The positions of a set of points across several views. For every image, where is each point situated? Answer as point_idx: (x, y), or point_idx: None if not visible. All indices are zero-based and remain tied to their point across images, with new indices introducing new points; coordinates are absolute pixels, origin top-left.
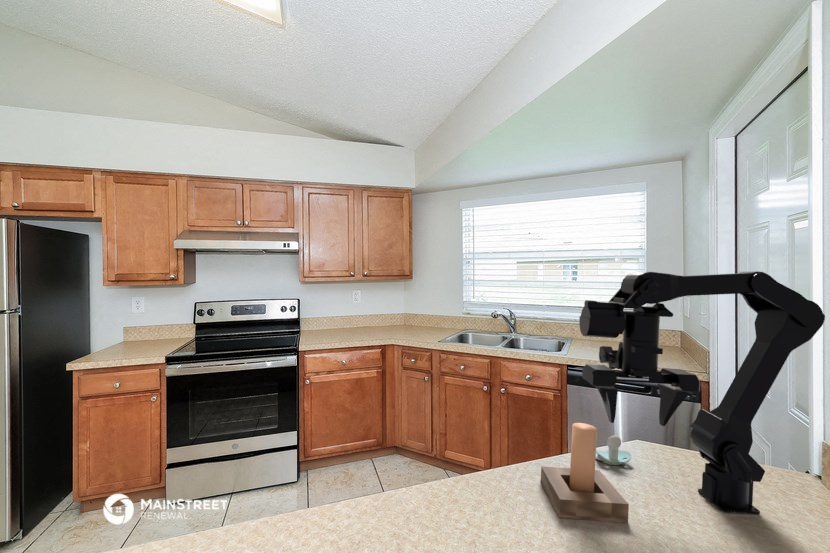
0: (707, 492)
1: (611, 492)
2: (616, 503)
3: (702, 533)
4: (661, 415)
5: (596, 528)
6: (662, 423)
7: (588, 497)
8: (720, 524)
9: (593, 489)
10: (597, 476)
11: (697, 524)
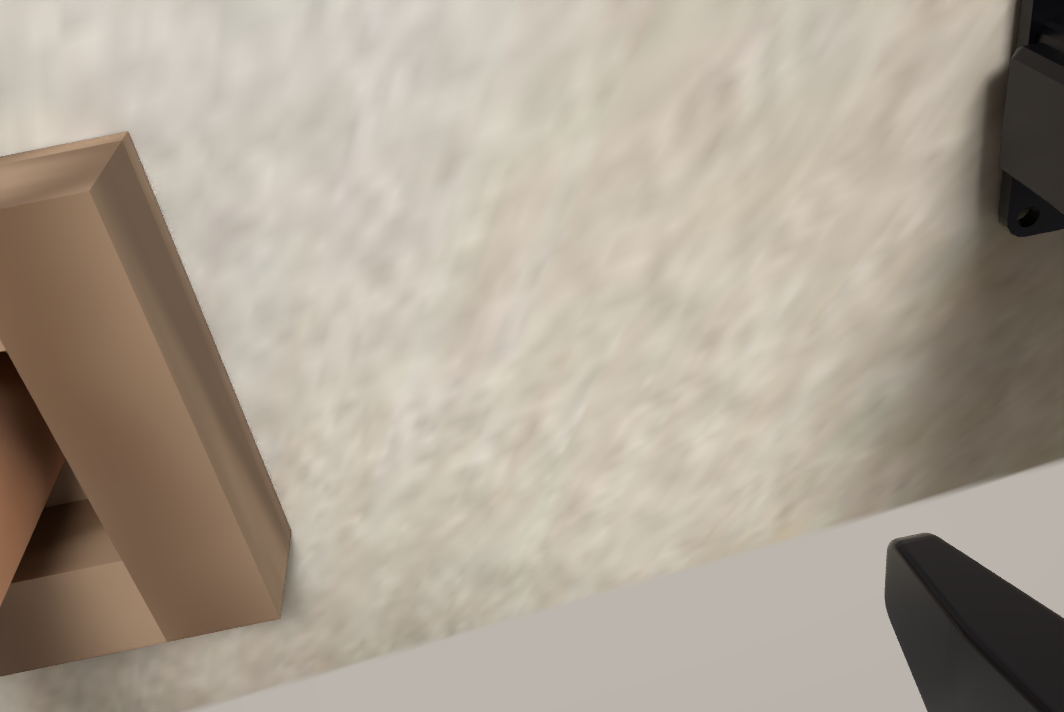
0: (1029, 139)
1: (177, 527)
2: (199, 632)
3: (699, 486)
4: (976, 710)
5: None
6: (900, 633)
7: (7, 637)
8: (873, 368)
9: (41, 512)
10: (67, 329)
11: (722, 413)
